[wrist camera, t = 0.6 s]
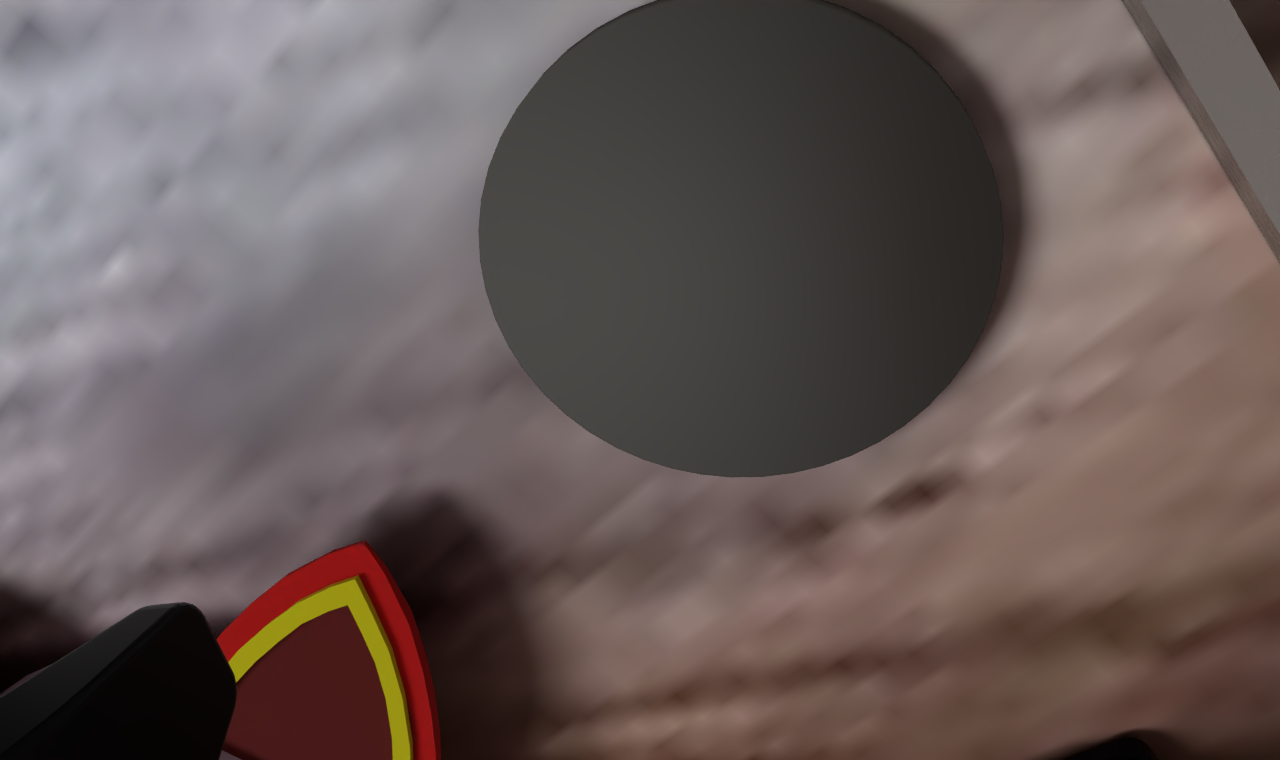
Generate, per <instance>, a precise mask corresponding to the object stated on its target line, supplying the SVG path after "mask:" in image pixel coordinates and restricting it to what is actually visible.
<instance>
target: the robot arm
mask: <svg viewBox="0 0 1280 760" xmlns="http://www.w3.org/2000/svg"><path fill="white" fill-rule="evenodd" d="M236 699H237V684H236V680H235V675H234V673H233V671H232V669H231V667H230V665H229V663H228V661H227V659H226V657H225V655H224V653H223V651H222V649H221V647H220V645H219V643H218V641H217V639H216V638H215V636H214V634H213V632H212V630H211V628H210V626H209V624H208V622H207V620H206V618H205V616H204V615H203V613H202V612H201V611H200V610H199V609H198V608H197V607H196V606H194V605H193V604H189V603H185V602H181V603H170V604H160V605H151V606H146V607H143V608H140V609H138V610H136V611H135V612H133V613H132V614H130V615H128V616H127V617H125V618H124V619H122V620H121V621H119V622H117V623H116V624H114V625H113V626H111V627H110V628H108V629H106V630H105V631H103V632H102V633H100V634H99V635H97V636H96V637H94V638H92V639H91V640H89V641H88V642H86V643H85V644H83V645H81V646H80V647H78V648H77V649H75V650H74V651H72V652H70V653H69V654H67V655H66V656H64V657H63V658H61V659H59V660H58V661H56V662H55V663H53V664H52V665H50V666H49V667H47V668H45V669H44V670H42V671H41V672H39V673H38V674H36V675H34V676H33V677H31V678H30V679H28V680H27V681H25V682H23V683H22V684H20V685H19V686H17V687H16V688H14V689H12V690H11V691H9V692H8V693H6V694H5V695H3V696H1V697H0V760H219V758H220V755H221V752H222V748H223V745H224V742H225V739H226V735H227V732H228V729H229V726H230V722H231V719H232V716H233V713H234V709H235V705H236ZM1127 758H1130V759H1127ZM1067 760H1159V759H1158V757H1157V756H1156V755H1155V754H1154V753H1153V751H1152V750H1151V749H1150V748H1149V746H1148V745H1147V744H1146V743H1145V742H1143V741H1142V740H1139V739H1136V738H1122V739H1118V740H1115V741H1113V742H1110V743H1108V744H1105V745H1103V746H1100V747H1098V748H1095V749H1093V750H1090V751H1088V752H1085V753H1082V754H1080V755H1077V756H1075V757H1072V758H1070V759H1067Z"/></svg>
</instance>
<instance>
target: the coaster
mask: <svg viewBox="0 0 1280 760" xmlns="http://www.w3.org/2000/svg"><path fill="white" fill-rule="evenodd" d="M1002 246H1003V227H1002V215H1001V203H1000V198H999V194H998V190H997V186H996V181H995V177H994V173H993V169H992V167H991V164H990V162H989V159H988V157H987V154H986V152H985V149H984V146H983V144H982V141H981V139H980V137H979V135H978V133H977V130H976V128H975V127H974V125H973V123H972V121H971V120H970V118H969V116H968V114H967V113H966V111H965V109H964V108H963V106H962V104H961V102H960V101H959V99H958V97H957V96H956V95H955V94H954V92H953V91H952V90H951V89H950V87H949V86H948V85H947V84H946V82H945V81H944V80H943V79H942V77H941V76H940V75H939V74H938V72H937V71H936V70H935V69H934V68H933V67H932V66H931V65H930V64H929V63H927V62H926V61H925V60H924V59H923V58H922V57H921V56H920V55H919V54H918V53H917V52H916V51H915V50H914V49H912V48H911V47H910V46H909V45H908V44H906V43H905V42H903V41H902V40H901V39H899V38H898V37H896V36H895V35H893V34H892V33H890V32H889V31H888V30H886V29H885V28H883V27H882V26H880V25H879V24H877V23H875V22H873V21H871V20H869V19H867V18H865V17H863V16H861V15H859V14H857V13H855V12H853V11H851V10H849V9H847V8H844V7H841V6H838V5H836V4H833V3H830V2H827V1H824V0H657V1H654V2H652V3H649V4H646V5H644V6H641V7H638V8H636V9H633V10H630V11H628V12H626V13H624V14H622V15H620V16H619V17H617V18H615V19H613V20H611V21H609V22H607V23H606V24H604V25H602V26H600V27H598V28H596V29H595V30H594V31H592V32H591V33H590V34H588V35H587V36H586V37H584V38H583V39H582V40H580V41H579V42H577V43H576V44H575V45H573V46H572V47H571V48H569V49H568V50H567V51H566V52H565V53H564V54H563V55H562V56H561V57H560V58H559V59H558V60H557V61H556V62H555V63H554V64H553V65H552V66H551V67H550V68H549V69H548V70H547V71H546V72H545V73H544V74H543V75H542V76H541V78H540V79H539V80H538V81H537V83H536V84H535V85H534V87H533V88H532V89H531V91H530V92H529V93H528V94H527V96H526V97H525V98H524V100H523V101H522V102H521V104H520V105H519V106H518V108H517V109H516V111H515V113H514V114H513V116H512V118H511V120H510V121H509V123H508V125H507V127H506V129H505V130H504V132H503V134H502V136H501V137H500V140H499V142H498V145H497V148H496V150H495V153H494V155H493V158H492V160H491V163H490V166H489V168H488V172H487V177H486V181H485V185H484V190H483V194H482V198H481V208H480V220H479V248H480V263H481V268H482V273H483V278H484V284H485V289H486V293H487V296H488V299H489V302H490V305H491V308H492V311H493V314H494V317H495V320H496V322H497V324H498V326H499V328H500V330H501V332H502V334H503V336H504V338H505V340H506V342H507V344H508V346H509V348H510V349H511V351H512V353H513V354H514V356H515V357H516V359H517V360H518V362H519V363H520V365H521V366H522V368H523V369H524V371H525V372H526V373H527V375H528V376H529V377H530V378H531V379H532V381H533V382H534V383H535V384H536V385H537V387H538V388H539V389H540V390H541V391H542V392H543V394H544V395H545V396H546V397H548V398H549V399H550V400H551V401H552V402H553V403H554V404H555V405H556V406H557V407H558V408H559V409H560V410H561V411H562V412H564V413H565V414H566V415H567V416H568V417H570V418H571V419H572V420H574V421H575V422H576V423H578V424H579V425H581V426H582V427H583V428H585V429H586V430H587V431H589V432H590V433H592V434H593V435H595V436H597V437H599V438H600V439H602V440H604V441H606V442H607V443H609V444H611V445H613V446H614V447H616V448H618V449H621V450H623V451H625V452H627V453H630V454H632V455H634V456H637V457H639V458H641V459H643V460H647V461H650V462H653V463H656V464H659V465H662V466H666V467H669V468H672V469H677V470H682V471H687V472H692V473H697V474H702V475H713V476H724V477H764V476H772V475H780V474H788V473H795V472H799V471H803V470H807V469H811V468H816V467H820V466H824V465H826V464H829V463H832V462H835V461H838V460H840V459H843V458H846V457H849V456H851V455H854V454H856V453H858V452H860V451H862V450H864V449H866V448H868V447H870V446H872V445H874V444H876V443H878V442H880V441H881V440H883V439H884V438H886V437H888V436H889V435H891V434H892V433H894V432H895V431H897V430H898V429H900V428H901V427H903V426H905V425H906V424H907V423H908V422H909V421H911V420H912V419H913V418H914V417H915V416H917V415H918V414H919V413H920V412H921V411H923V410H924V409H925V408H926V407H927V406H929V405H930V404H931V403H932V401H933V400H934V399H935V398H936V397H937V396H938V395H939V394H940V393H941V392H942V391H943V390H944V389H945V388H946V387H947V385H948V384H949V383H950V382H951V381H952V379H953V378H954V377H955V375H956V374H957V372H958V371H959V370H960V368H961V367H962V365H963V364H964V363H965V361H966V360H967V359H968V357H969V355H970V353H971V352H972V350H973V348H974V346H975V344H976V342H977V340H978V338H979V337H980V335H981V333H982V331H983V329H984V326H985V323H986V321H987V318H988V315H989V313H990V310H991V307H992V304H993V302H994V299H995V294H996V289H997V285H998V280H999V275H1000V271H1001V261H1002Z"/></svg>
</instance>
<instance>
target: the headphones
mask: <svg viewBox="0 0 1280 760" xmlns="http://www.w3.org/2000/svg"><path fill="white" fill-rule="evenodd" d="M217 641H218V643H219V645H220V647H221V649H222V651H223V653H224V655H225V657H226V659H227V661H228V663H229V665H230V667H231V669H232V671H233V673H234V675H235V680H236V684H237V699H236V705H235V709H234V713H233V716H232V719H231V722H230V726H229V729H228V732H227V735H226V739H225V742H224V745H223V748H222V752H221V755H220V758H219V760H441V738H440V726H439V718H438V711H437V703H436V696H435V690H434V686H433V682H432V677H431V673H430V668H429V664H428V660H427V655H426V652H425V649H424V646H423V643H422V640H421V637H420V634H419V631H418V628H417V625H416V622H415V619H414V616H413V613H412V610H411V608H410V607H409V605H408V603H407V601H406V599H405V598H404V596H403V594H402V592H401V591H400V589H399V587H398V585H397V584H396V582H395V580H394V578H393V577H392V575H391V573H390V571H389V570H388V568H387V566H386V565H385V564H384V562H383V561H382V560H381V559H380V558H379V556H378V555H377V554H376V553H375V551H374V550H373V549H372V548H371V547H370V545H369V544H368V543H367V542H366V540H364V541H361V542H358V543H355V544H352V545H348V546H345V547H342V548H339V549H336V550H333V551H331V552H329V553H327V554H325V555H323V556H321V557H319V558H317V559H315V560H314V561H312V562H310V563H308V564H306V565H304V566H302V567H300V568H298V569H296V570H294V571H292V572H290V573H289V574H287V575H286V576H285V577H284V578H282V579H281V580H280V581H279V582H277V583H276V584H275V585H274V586H272V587H271V588H270V589H269V590H267V591H266V592H265V593H264V594H262V595H261V596H260V597H259V598H257V599H256V600H255V601H254V602H252V603H251V604H250V605H249V606H248V607H247V608H246V609H245V610H244V611H243V612H242V613H241V614H240V615H239V616H238V617H237V618H236V619H235V620H234V621H233V622H232V623H231V624H230V625H229V626H228V627H227V628H226V629H225V630H224V631H223V632H222V633H221V635H220V636H219V637H218V638H217ZM51 665H52V664H51ZM49 666H50V665H49ZM49 666H47V667H49ZM47 667H44V668H42V669H40V670H38V671H36V672H33V673H31V674H29V675H27V676H25V677H24V678H22V679H21V680H19V681H18V682H17V683H15V684H14V685H12V686H11V687H9V688H8V689H6V690H5V691H3V692H2V693H1V694H0V697H1V696H3V695H5V694H6V693H8V692H9V691H11V690H12V689H14V688H16V687H17V686H19V685H20V684H22V683H23V682H25V681H27V680H28V679H30V678H31V677H33V676H34V675H36V674H38V673H39V672H41V671H42V670H44V669H45V668H47Z"/></svg>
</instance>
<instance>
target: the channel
mask: <svg viewBox="0 0 1280 760" xmlns="http://www.w3.org/2000/svg"><path fill="white" fill-rule="evenodd" d="M1122 1H1123V3H1124V4H1125V6H1126V8H1127V9H1128V11H1129V13H1130V14H1131V16H1132V18H1133V19H1134V21H1135V23H1136V24H1137V26H1138V28H1139V29H1140V31H1141V33H1142V34H1143V36H1144V38H1145V39H1146V41H1147V43H1148V44H1149V46H1150V48H1151V49H1152V51H1153V53H1154V54H1155V56H1156V58H1157V59H1158V61H1159V63H1160V64H1161V66H1162V68H1163V69H1164V71H1165V73H1166V74H1167V76H1168V78H1169V79H1170V81H1171V83H1172V84H1173V86H1174V88H1175V89H1176V91H1177V93H1178V94H1179V96H1180V98H1181V99H1182V101H1183V102H1184V104H1185V106H1186V107H1187V109H1188V111H1189V112H1190V114H1191V116H1192V117H1193V119H1194V121H1195V122H1196V124H1197V126H1198V127H1199V129H1200V131H1201V132H1202V134H1203V136H1204V137H1205V139H1206V141H1207V142H1208V144H1209V146H1210V147H1211V149H1212V151H1213V152H1214V154H1215V156H1216V157H1217V159H1218V161H1219V162H1220V164H1221V166H1222V167H1223V169H1224V171H1225V172H1226V174H1227V176H1228V177H1229V179H1230V181H1231V182H1232V184H1233V186H1234V187H1235V189H1236V191H1237V192H1238V194H1239V196H1240V197H1241V199H1242V201H1243V202H1244V204H1245V206H1246V207H1247V209H1248V211H1249V212H1250V214H1251V216H1252V217H1253V219H1254V221H1255V222H1256V224H1257V226H1258V227H1259V229H1260V231H1261V232H1262V234H1263V236H1264V237H1265V239H1266V241H1267V242H1268V244H1269V246H1270V247H1271V249H1272V251H1273V252H1274V254H1275V256H1276V257H1277V259H1278V261H1279V262H1280V90H1279V88H1278V86H1277V84H1276V82H1275V81H1274V79H1273V77H1272V75H1271V74H1270V72H1269V70H1268V68H1267V66H1266V65H1265V63H1264V61H1263V59H1262V58H1261V56H1260V54H1259V52H1258V50H1257V49H1256V47H1255V45H1254V43H1253V42H1252V40H1251V38H1250V36H1249V34H1248V33H1247V31H1246V29H1245V27H1244V26H1243V24H1242V22H1241V20H1240V18H1239V17H1238V15H1237V13H1236V11H1235V10H1234V8H1233V6H1232V4H1231V2H1230V1H1229V0H1122Z"/></svg>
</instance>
